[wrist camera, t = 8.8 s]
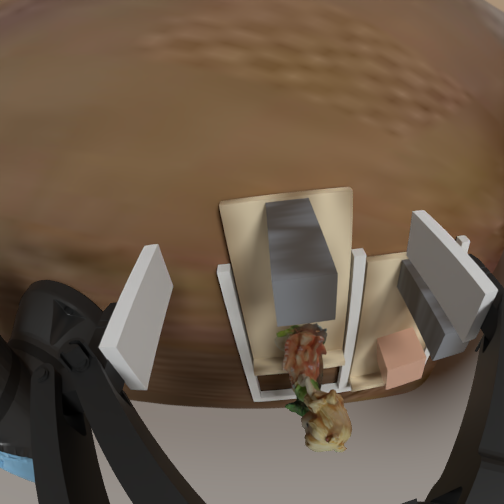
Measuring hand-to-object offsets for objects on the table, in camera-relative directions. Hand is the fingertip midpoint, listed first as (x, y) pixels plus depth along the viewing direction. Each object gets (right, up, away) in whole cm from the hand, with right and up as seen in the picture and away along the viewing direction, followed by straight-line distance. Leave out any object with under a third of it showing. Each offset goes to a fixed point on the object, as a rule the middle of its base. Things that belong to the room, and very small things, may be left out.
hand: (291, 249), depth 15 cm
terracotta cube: (+17, -12, +20) cm, 28 cm away
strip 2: (+16, -9, +19) cm, 26 cm away
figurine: (+4, -10, +20) cm, 23 cm away
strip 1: (+2, -4, +16) cm, 17 cm away
